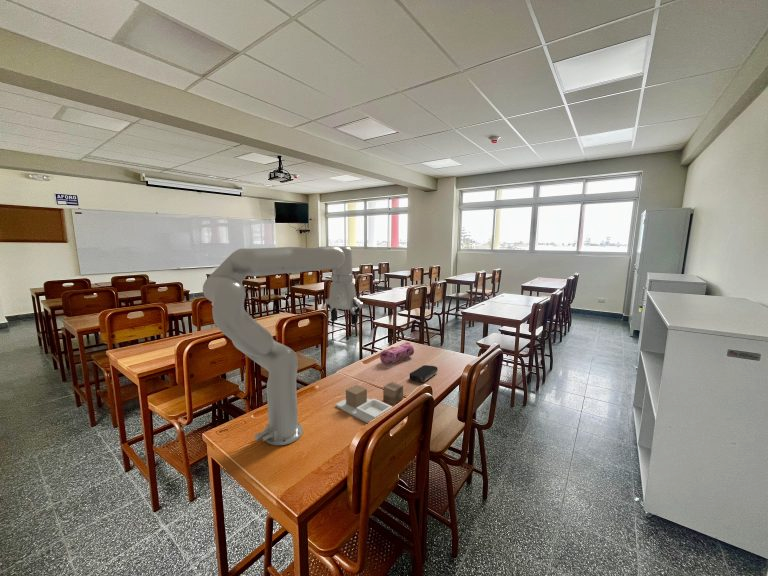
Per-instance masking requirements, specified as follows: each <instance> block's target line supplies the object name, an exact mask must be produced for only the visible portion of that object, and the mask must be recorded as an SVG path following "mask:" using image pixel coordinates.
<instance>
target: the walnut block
mask: <svg viewBox="0 0 768 576" xmlns="http://www.w3.org/2000/svg"><path fill="white" fill-rule="evenodd" d="M382 389H383V391H382V392H383V393H382V394H383V396H382V397H383V398H382V399H383V400H384V401H386V402H388V403H390V404H392V403H393V404H392V405H396V404H398V403H399V402H400V401H403V400H404V385H402V384H400V383H397V382H394V381H391V382H389V383H387V384H386V385H384V386H383V387H382ZM383 400H382V401H383ZM399 400H400V401H399Z"/></svg>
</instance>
